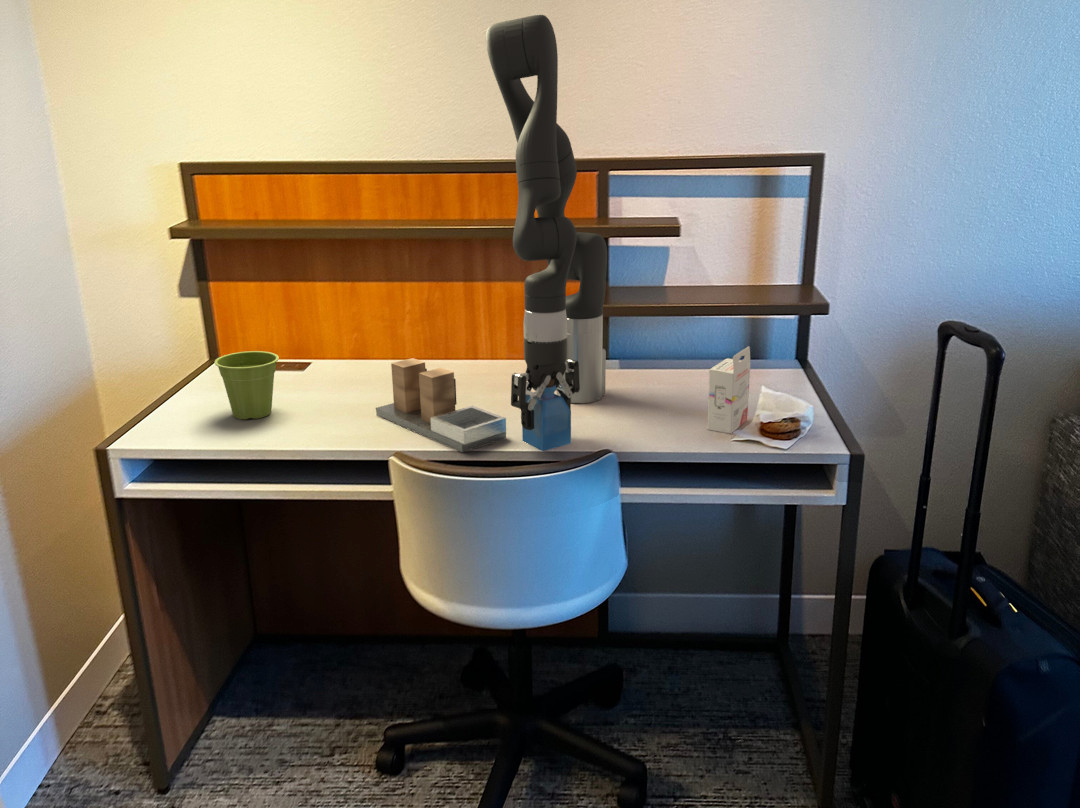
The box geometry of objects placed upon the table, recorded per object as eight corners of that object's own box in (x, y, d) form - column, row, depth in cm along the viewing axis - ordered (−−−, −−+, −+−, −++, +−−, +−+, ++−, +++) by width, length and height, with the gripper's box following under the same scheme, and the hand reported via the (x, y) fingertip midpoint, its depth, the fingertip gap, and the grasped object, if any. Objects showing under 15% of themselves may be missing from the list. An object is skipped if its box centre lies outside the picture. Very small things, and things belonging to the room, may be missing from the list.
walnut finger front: (445, 412, 181) (443, 367, 178) (458, 417, 178) (456, 371, 175) (421, 419, 177) (418, 373, 174) (434, 424, 174) (431, 377, 172)
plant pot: (268, 426, 179) (261, 369, 175) (210, 422, 181) (202, 366, 178) (294, 405, 190) (288, 351, 186) (239, 403, 192) (233, 349, 189)
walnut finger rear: (417, 401, 187) (415, 357, 184) (429, 406, 184) (427, 361, 181) (394, 407, 184) (391, 363, 181) (406, 412, 181) (403, 367, 178)
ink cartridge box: (723, 416, 181) (727, 341, 177) (747, 420, 179) (752, 345, 174) (705, 429, 175) (709, 352, 170) (731, 434, 172) (735, 356, 167)
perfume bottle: (570, 443, 169) (570, 379, 165) (542, 451, 166) (541, 386, 162) (550, 433, 174) (549, 371, 170) (522, 441, 170) (521, 377, 166)
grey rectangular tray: (418, 403, 191) (417, 384, 189) (507, 438, 171) (506, 417, 170) (376, 415, 184) (375, 395, 183) (463, 453, 165) (462, 431, 164)
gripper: (560, 323, 170) (560, 408, 176) (499, 338, 161) (502, 427, 167) (590, 331, 165) (589, 418, 170) (529, 346, 156) (530, 438, 161)
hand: (546, 422), depth 168 cm, fingers open, 8 cm apart
